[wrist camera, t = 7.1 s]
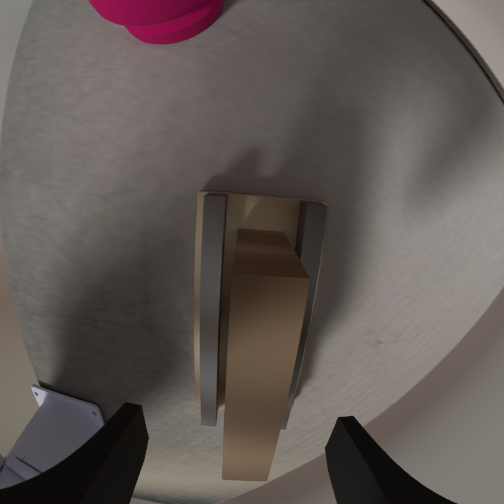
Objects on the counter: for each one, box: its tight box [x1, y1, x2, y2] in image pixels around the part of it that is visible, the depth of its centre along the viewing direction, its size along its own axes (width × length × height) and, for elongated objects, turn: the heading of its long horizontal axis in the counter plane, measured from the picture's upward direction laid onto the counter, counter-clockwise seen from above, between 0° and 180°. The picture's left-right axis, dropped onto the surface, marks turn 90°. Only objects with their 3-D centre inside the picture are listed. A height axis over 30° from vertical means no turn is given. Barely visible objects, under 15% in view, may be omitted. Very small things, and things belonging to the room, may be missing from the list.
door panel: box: [222, 228, 310, 481], centre depth 14 cm, size 12×3×7 cm, turn 175°
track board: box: [194, 191, 330, 429], centre depth 17 cm, size 15×7×3 cm, turn 175°
